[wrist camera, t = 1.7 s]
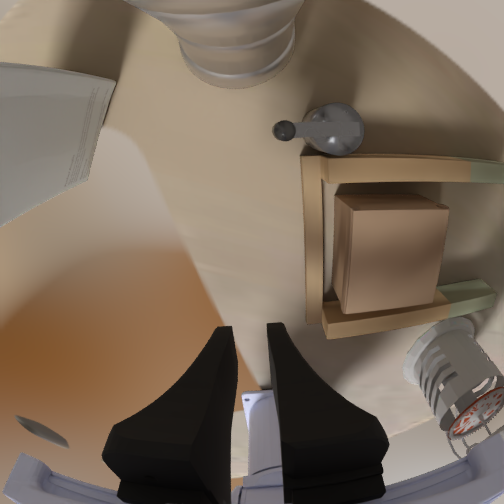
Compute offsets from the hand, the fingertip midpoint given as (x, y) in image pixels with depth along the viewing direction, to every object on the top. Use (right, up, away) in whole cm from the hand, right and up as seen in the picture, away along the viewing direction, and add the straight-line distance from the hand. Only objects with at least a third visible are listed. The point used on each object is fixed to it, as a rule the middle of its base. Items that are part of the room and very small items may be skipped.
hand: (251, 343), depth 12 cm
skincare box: (-13, +13, +6) cm, 20 cm away
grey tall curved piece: (+21, -8, +15) cm, 27 cm away
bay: (+13, +5, +9) cm, 17 cm away
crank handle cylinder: (+4, +12, +6) cm, 14 cm away
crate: (+9, +5, +9) cm, 14 cm away
